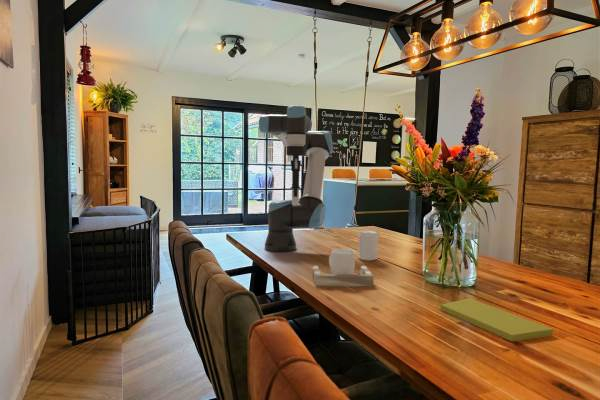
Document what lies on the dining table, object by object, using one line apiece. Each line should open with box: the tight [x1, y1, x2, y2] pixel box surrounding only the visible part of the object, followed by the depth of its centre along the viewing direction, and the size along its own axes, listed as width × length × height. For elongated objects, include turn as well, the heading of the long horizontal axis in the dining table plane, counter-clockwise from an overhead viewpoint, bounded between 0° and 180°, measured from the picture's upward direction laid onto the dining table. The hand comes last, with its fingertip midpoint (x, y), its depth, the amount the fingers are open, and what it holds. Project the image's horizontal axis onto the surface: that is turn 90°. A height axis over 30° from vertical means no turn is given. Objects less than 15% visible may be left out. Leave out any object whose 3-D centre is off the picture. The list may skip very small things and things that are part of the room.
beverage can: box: [357, 229, 379, 262], centre depth 167 cm, size 8×8×12 cm
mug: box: [328, 248, 356, 274], centre depth 139 cm, size 12×8×10 cm
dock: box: [312, 265, 375, 287], centre depth 137 cm, size 13×20×4 cm, turn 92°
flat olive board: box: [440, 297, 554, 342], centre depth 103 cm, size 12×2×24 cm
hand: (295, 204), depth 156 cm, fingers closed
